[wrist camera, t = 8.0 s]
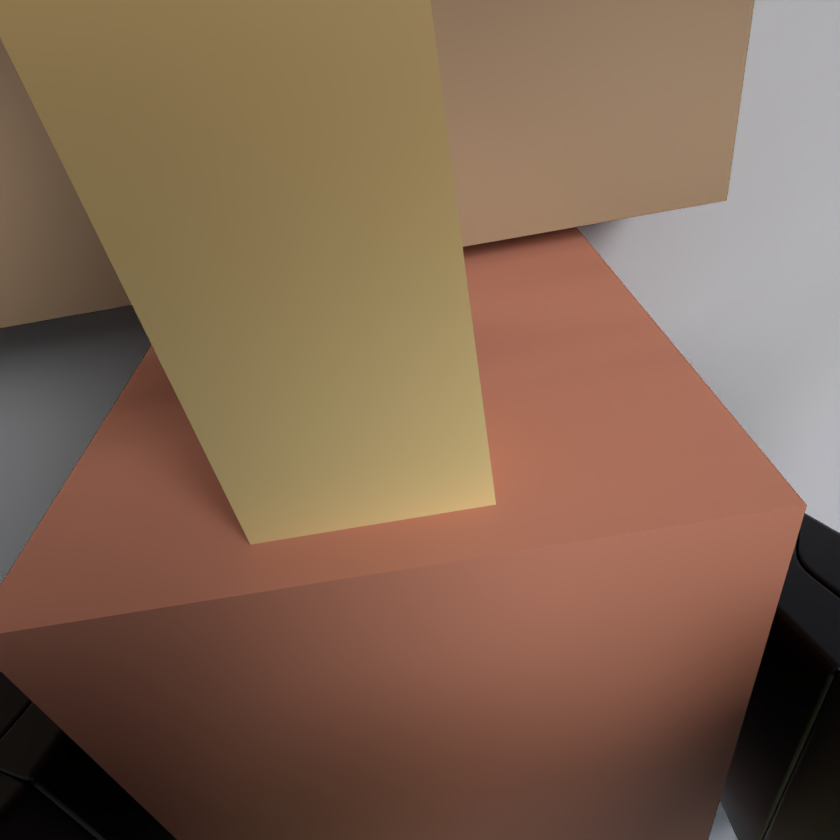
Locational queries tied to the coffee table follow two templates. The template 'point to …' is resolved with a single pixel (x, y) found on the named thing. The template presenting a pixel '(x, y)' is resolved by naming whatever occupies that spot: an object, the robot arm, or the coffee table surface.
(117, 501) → the terracotta strapped cube
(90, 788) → the robot arm
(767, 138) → the coffee table surface
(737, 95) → the board
